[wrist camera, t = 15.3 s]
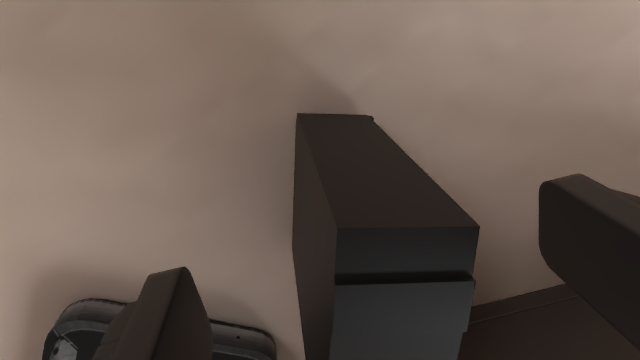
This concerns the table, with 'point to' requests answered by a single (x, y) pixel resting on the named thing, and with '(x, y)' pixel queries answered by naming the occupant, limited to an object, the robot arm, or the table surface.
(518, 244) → the table surface
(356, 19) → the table surface
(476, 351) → the pen box
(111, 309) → the phone
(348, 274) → the ink cartridge
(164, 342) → the robot arm
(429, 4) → the table surface
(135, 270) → the table surface
